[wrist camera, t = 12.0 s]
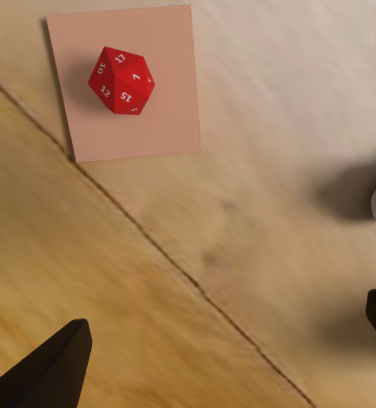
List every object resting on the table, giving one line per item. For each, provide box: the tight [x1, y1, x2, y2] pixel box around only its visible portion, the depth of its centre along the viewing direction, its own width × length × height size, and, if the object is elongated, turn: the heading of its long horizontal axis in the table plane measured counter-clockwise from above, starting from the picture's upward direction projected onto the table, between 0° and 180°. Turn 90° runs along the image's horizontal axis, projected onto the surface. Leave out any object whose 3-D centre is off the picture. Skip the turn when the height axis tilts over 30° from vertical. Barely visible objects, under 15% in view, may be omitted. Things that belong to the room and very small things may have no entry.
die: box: [88, 46, 155, 115], centre depth 14 cm, size 4×3×4 cm
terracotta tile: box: [46, 5, 201, 163], centre depth 16 cm, size 9×9×1 cm
